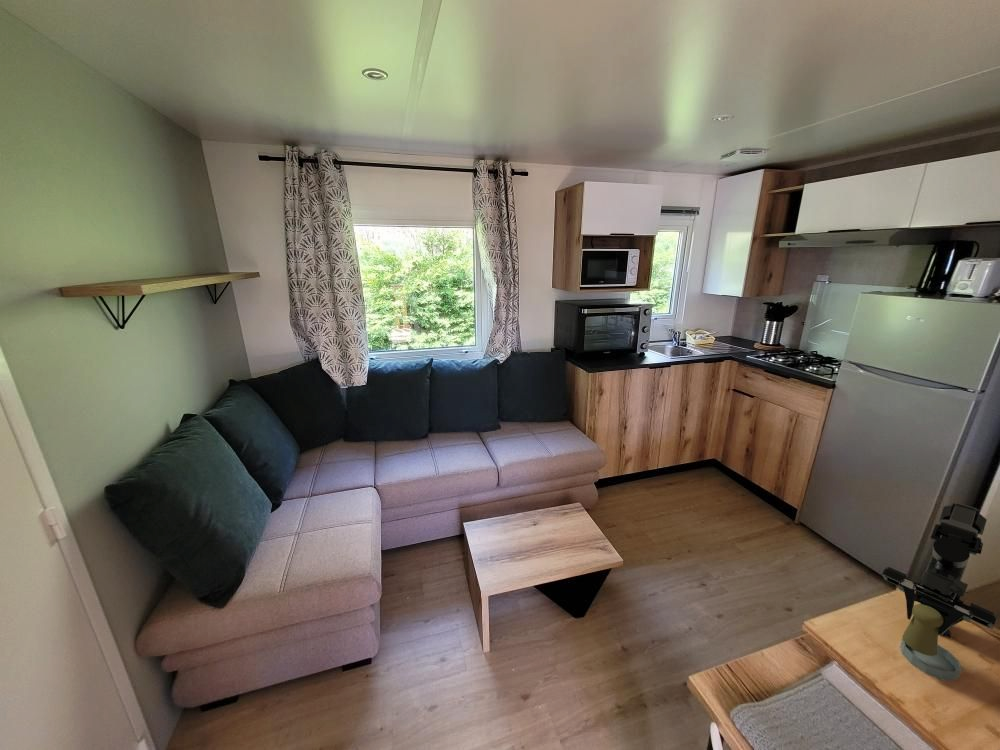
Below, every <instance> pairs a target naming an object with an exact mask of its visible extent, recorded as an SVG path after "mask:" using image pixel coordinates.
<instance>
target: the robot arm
mask: <svg viewBox="0 0 1000 750" xmlns="http://www.w3.org/2000/svg"><path fill="white" fill-rule="evenodd" d="M987 521H988V519H987V518H986V517H984V516H983V515H982V514H981V513H980V509H977V507H973V506H969V505H966V504H963V503H959V502H957V503H956V502H952V505H946V506H943V507H942V509H941V514H940V516H939V524H938V523H935V525H934V528H933V531H932V533H931V536H930V540H931V541H933V545H932V553H931V557H930V559H929V561H928V563H927V564H928V565H927V567H926V570H924V572H923V573H922V574H921V577H920V579H919V581H918V583H917V582H915V581H914V580H911V579H909V578H908V575H907V573H904V572H901V571H900V570H897V569H895V568H893V567H890V566H887V567H884V569H883V572H882V574H881V575H882V578H883V580H885V581H886V582H889V583H891V584H893V585H895V586H897V587H898V590H899V591H900V592H903V594H904V598H905V602H906V617H907V620H910V621H911V618H912V615H913V614H912V608H913V607H914V606H915V602H917V603H919V604H923V605H927V606H929V607H932V608H934V609H935V610H937V611H938V612H939V613H940V614H941V615H942V617H943V624H942V625H941V626H940V627H938V636H942V635H943V636H945V637H948V638H951V637H952V636H953V635H952V633H951V631H950V629H951V628H952V627H953V626H955V625H957V624H959V623H961V622H963V621H964V622H967V623H971V621H973V622H975V623H976V624H977V623H978V624H980V625H981V626H983V627H986V628H988V629H991V630H993V629H994V627H995V625H996V624H995V623H996V622H997V617H998V616H997V615H996V613H995V612H993V611H991V610H989V609H986V608H984V607H982V606H980V605H978V604H975V603H973V602H971V603H970V605H968V604H965V603H964V602H965V600H963V599H961V598H962V597H963V598H964V597H965V596H966V592H967V589H968V586H969V583H967V582H964V581H962V579H963V576H964V574H965V571H966V568H967V565H968V563H969V560H970V557H971V556H970V554H971V555H973V556H977V554H979V555H981V554H982V551H983V546H984V543H983V541H982V538H981V537H979V535H980V536H983V534H984V531H985V528H986V525H987Z"/></svg>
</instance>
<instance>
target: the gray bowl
mask: <svg viewBox="0 0 1000 750" xmlns="http://www.w3.org/2000/svg"><path fill="white" fill-rule="evenodd" d="M899 648H900V651H901V654H902V655H903V657H905V659H906V660H907V661H908V662H909V663H910V664H911V665H912V666H914V667H915V668H917V669H919V670H920V671H921V672H923V673H924V674H927V675H929V676H931V677H933V678H936V679H939V680H941V681H949V682H955V681H956V680H957V679H959V678H960V676H961V673H962V670H963V669H962V665H961V663H960V661H959V660H958V658H956V657H955V655H953V653H951V652H950V651H949V650H948V649H946V648H945V647H943V646H941V645H940V644H937V654H936V655H934V656H929V655H925V654H922V653H920V652H917V651H916V650H914V649H912V648H911V647H910V646H908V645H907V644H906V643H905V642H904V640H903V638H902V639H901V641H900V644H899Z"/></svg>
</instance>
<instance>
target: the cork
mask: <svg viewBox="0 0 1000 750" xmlns="http://www.w3.org/2000/svg"><path fill="white" fill-rule="evenodd" d="M912 615H913V617H911V618H912V619H910V621H909V624H908V625H907V627H906V629H905V630H904V633H903V634H902V638H903V640H904V642H905V643H906V644H907V645H908V646H910V647H911V648H912V649H914V650H916V651H917V652H920V653H922V654H925V655H929V656H934V655H936V654H937V644H938V643H939V642H938V641H939V639H938V638H939V634H938V627H940V626H941V625H942V624H943V617H942V615H941V614H940V613H939V612H938V611H937V610H935V609H934V608H932V607H929V606H927V605H923V604H920V603H919V604H918V603H917V604H914V607H913V608H912ZM938 645H939V644H938Z"/></svg>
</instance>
